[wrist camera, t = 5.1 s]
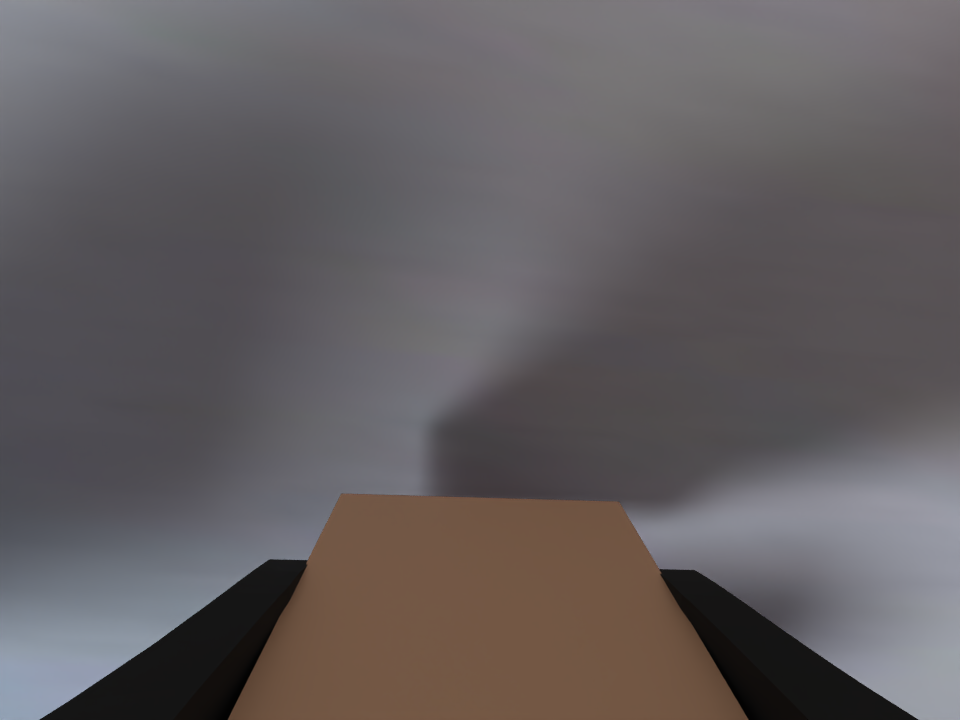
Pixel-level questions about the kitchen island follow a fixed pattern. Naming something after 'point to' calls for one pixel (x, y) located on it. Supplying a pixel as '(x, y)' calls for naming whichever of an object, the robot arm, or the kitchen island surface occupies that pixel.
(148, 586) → the kitchen island surface
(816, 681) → the robot arm
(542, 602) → the tile head
